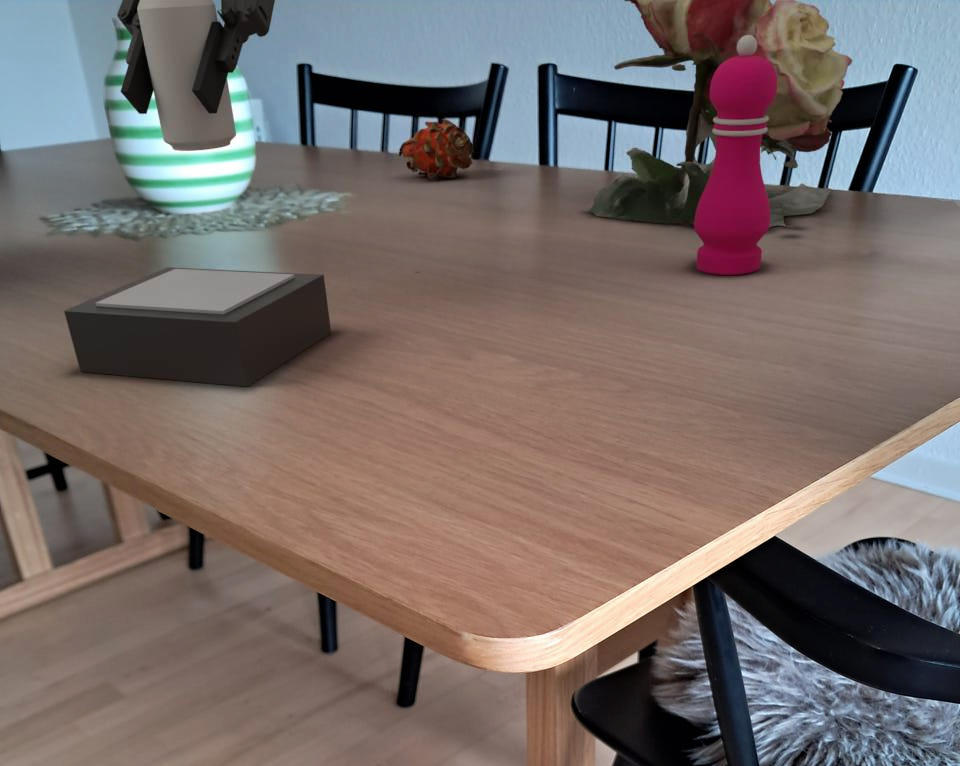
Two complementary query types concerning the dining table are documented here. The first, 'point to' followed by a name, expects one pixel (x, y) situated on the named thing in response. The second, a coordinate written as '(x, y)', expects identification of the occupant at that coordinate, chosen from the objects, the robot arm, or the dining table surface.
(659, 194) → the rose bouquet
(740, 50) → the pepper mill
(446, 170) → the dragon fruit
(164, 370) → the cup warmer
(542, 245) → the dining table surface
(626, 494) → the dining table surface
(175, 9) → the beverage can
